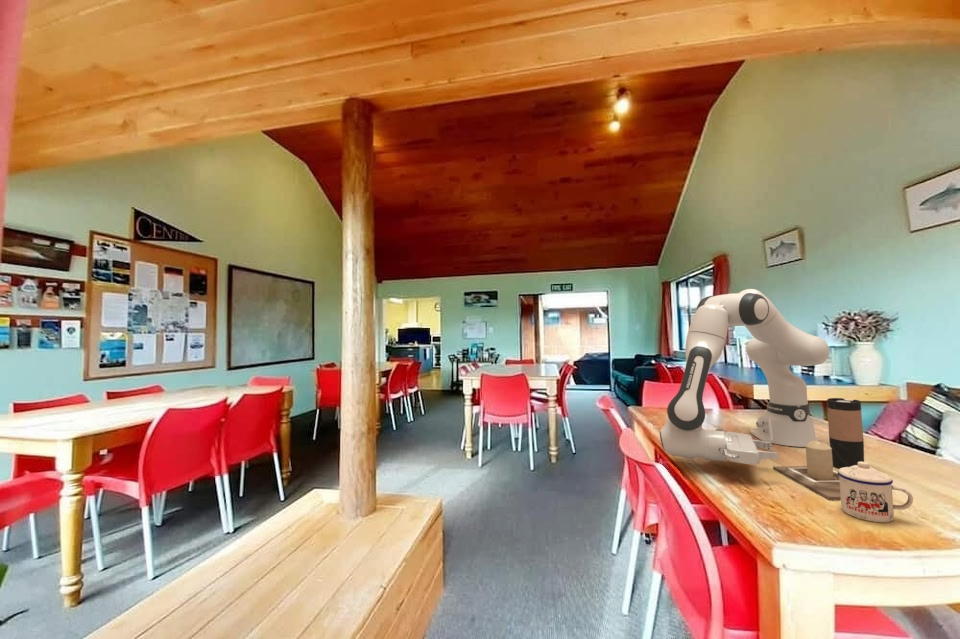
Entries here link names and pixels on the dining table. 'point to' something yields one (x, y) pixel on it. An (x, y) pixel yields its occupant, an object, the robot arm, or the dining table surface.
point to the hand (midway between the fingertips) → (774, 450)
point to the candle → (819, 461)
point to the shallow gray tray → (813, 481)
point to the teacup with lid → (869, 493)
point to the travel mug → (845, 432)
